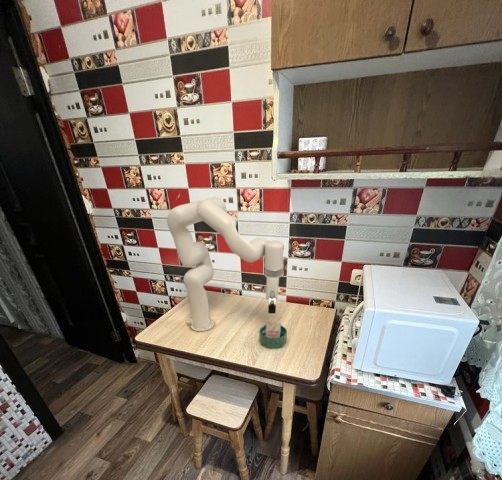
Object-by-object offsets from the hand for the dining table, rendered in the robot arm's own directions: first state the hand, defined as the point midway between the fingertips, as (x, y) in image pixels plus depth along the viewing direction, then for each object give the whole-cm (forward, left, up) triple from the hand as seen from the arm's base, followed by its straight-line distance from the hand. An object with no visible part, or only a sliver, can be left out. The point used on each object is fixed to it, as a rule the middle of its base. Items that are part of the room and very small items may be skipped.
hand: (272, 307), depth 125 cm
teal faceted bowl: (+1, 0, -18) cm, 18 cm away
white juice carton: (+1, 0, -18) cm, 18 cm away
